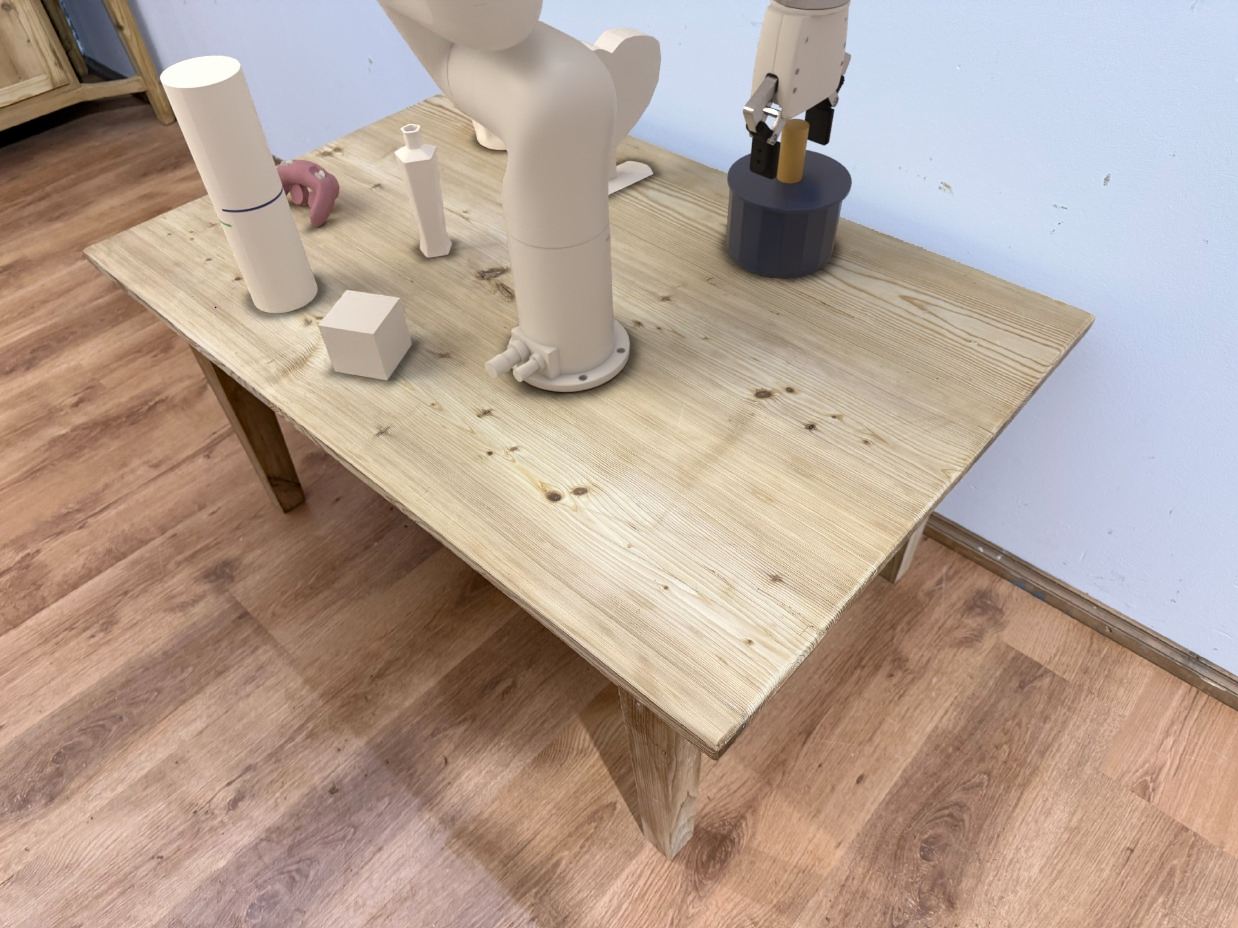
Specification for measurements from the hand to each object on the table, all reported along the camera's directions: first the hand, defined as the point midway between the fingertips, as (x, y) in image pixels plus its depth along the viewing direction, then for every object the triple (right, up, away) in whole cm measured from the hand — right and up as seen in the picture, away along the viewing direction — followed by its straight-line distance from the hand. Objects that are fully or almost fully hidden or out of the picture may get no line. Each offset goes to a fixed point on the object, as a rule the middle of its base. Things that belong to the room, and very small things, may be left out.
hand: (789, 157), depth 92 cm
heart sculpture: (-20, +4, +20) cm, 29 cm away
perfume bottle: (-41, -8, +10) cm, 43 cm away
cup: (-35, +13, +30) cm, 47 cm away
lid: (0, -2, +2) cm, 3 cm away
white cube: (-44, -22, -3) cm, 50 cm away
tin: (0, -8, +8) cm, 11 cm away
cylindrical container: (-57, -14, +5) cm, 59 cm away
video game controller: (-59, -1, +17) cm, 61 cm away
